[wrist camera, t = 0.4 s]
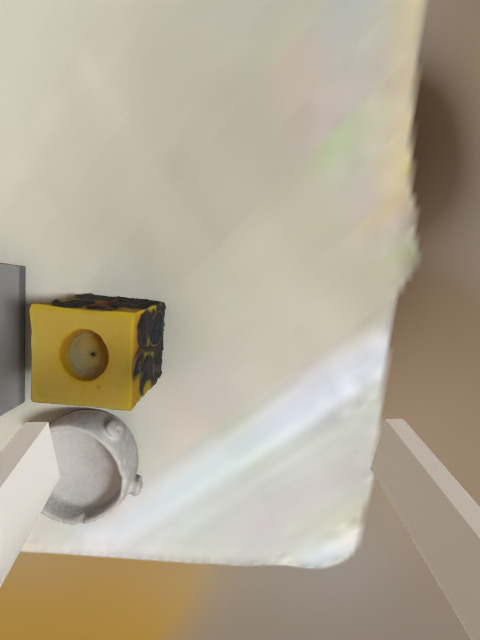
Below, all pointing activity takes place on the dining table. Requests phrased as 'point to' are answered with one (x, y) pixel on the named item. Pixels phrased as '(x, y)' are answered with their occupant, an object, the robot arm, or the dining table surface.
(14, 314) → the tray
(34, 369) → the candle
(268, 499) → the dining table surface
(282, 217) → the dining table surface
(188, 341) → the dining table surface
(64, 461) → the dish
